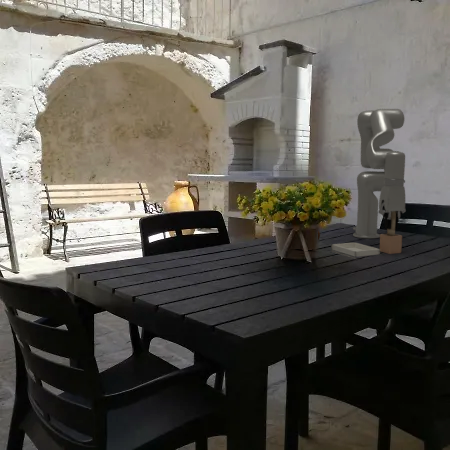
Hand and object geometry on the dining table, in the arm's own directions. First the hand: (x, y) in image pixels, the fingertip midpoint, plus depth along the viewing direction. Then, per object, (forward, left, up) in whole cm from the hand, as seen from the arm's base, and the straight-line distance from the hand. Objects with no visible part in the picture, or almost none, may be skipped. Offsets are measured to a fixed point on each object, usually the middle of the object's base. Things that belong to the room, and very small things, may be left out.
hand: (391, 227), depth 210 cm
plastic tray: (-6, -13, -11) cm, 18 cm away
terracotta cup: (0, 0, -11) cm, 11 cm away
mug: (-21, -26, -11) cm, 35 cm away
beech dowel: (0, 0, -9) cm, 9 cm away
